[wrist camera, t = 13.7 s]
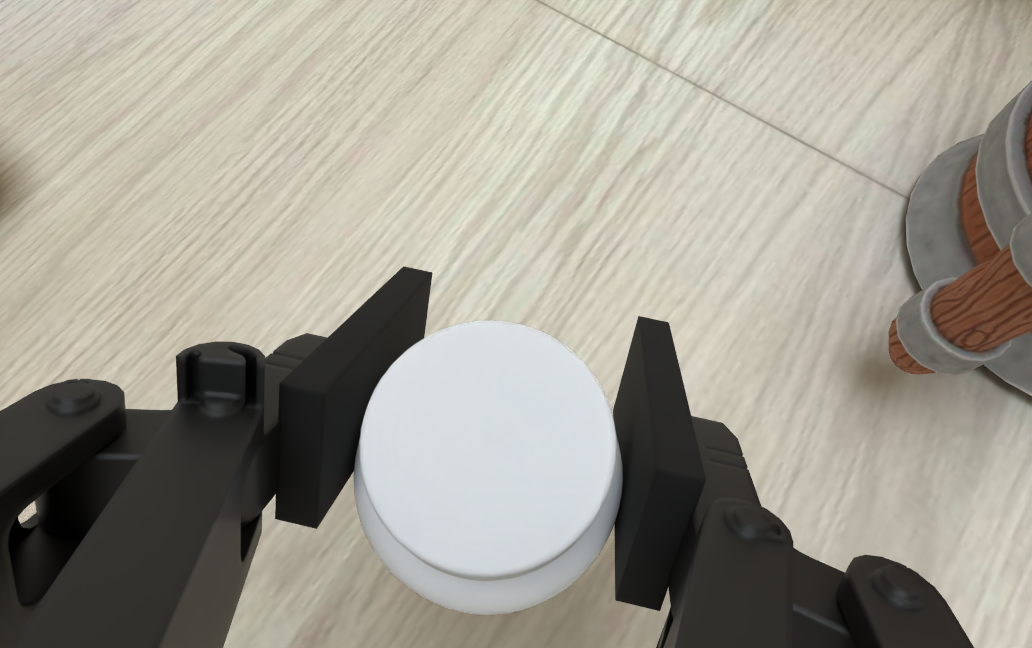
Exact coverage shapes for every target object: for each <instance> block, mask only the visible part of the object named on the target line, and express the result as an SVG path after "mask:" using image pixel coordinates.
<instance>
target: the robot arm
mask: <svg viewBox="0 0 1032 648" xmlns="http://www.w3.org/2000/svg"><path fill="white" fill-rule="evenodd" d="M431 279H432V272H427V271H422V270H418V269H413V268H408V267H402V268H401V269H400V270H399V271H398V272H397V273H396V274H395V275H394V276H393V277H392V278H391V279H390V280H389V281H388V282H387V283H385V284H384V285H383V286H382V287H381V288H380V289H379V290H378V291H377V292H376V293H375V294H374V295H373V296H372V297H371V298H369V299H368V300H367V301H366V302H365V303H364V304H363V305H362V306H361V307H360V308H359V309H358V310H357V311H356V312H355V313H354V314H352V315H351V316H350V317H349V318H348V319H347V320H346V321H345V322H344V323H343V324H342V325H341V326H340V327H339V328H338V329H336V330H335V331H334V332H333V333H332V334H331V335H330V336H329V337H328V338H326V337H322V336H317V335H313V334H308V333H306V334H304V335H301V336H298V337H295V338H292V339H290V340H287V341H285V342H284V343H283V344H282V345H281V346H279V347H278V348H277V349H276V350H275V351H273V354H270V355H269V356H267V357H266V358H265V356H264V355H263V353H262V352H261V351H260V350H259V349H256V348H254V347H252V346H249V345H246V344H241V343H236V342H211V343H204V344H198V345H195V346H193V347H190V348H187V349H185V350H183V351H182V352H181V353H179V354H178V355H177V356H176V367H177V391H178V402H177V404H176V405H175V406H174V408H173V409H172V410H138V409H125V397H124V392H123V391H122V390H121V389H120V388H119V387H118V386H117V385H115V384H112V383H109V382H106V381H100V380H91V379H80V380H78V379H74V380H67V381H64V382H61V383H56V384H52V385H49V386H46V387H44V388H42V389H39V390H37V391H35V392H33V393H31V394H29V395H28V396H26V397H24V398H22V399H21V400H19V401H17V402H15V403H14V404H12V405H10V406H9V407H7V408H5V409H3V410H2V411H0V648H223V646H224V643H225V640H226V637H227V634H228V631H229V628H230V625H231V622H232V619H233V616H234V613H235V610H236V607H237V604H238V601H239V598H240V595H241V592H242V589H243V586H244V583H245V580H246V577H247V574H248V571H249V568H250V565H251V562H252V559H253V556H254V553H255V550H256V547H257V544H258V542H259V539H260V536H261V533H262V510H263V509H264V508H265V507H266V505H267V504H268V503H269V502H270V500H271V499H272V498H273V497H274V495H275V494H276V511H275V519H278V520H282V521H286V522H291V523H295V524H299V525H303V526H307V527H311V528H316V529H317V527H318V526H319V524H320V523H321V521H322V520H323V518H324V517H325V515H326V513H327V512H328V510H329V509H330V507H331V506H332V504H333V503H334V501H335V499H336V498H337V496H338V495H339V493H340V492H341V490H342V489H343V487H344V485H345V484H346V482H347V481H348V479H349V478H350V476H351V474H352V473H353V471H354V467H355V457H356V452H357V447H358V444H359V440H360V436H361V427H362V423H363V419H364V415H365V412H366V409H367V406H368V403H369V401H370V398H371V396H372V394H373V392H374V390H375V388H376V386H377V385H378V383H379V381H380V379H381V378H382V377H383V375H384V374H385V373H386V372H387V370H388V369H389V367H390V366H391V365H392V364H393V363H394V362H395V361H396V360H397V359H398V358H399V357H400V356H401V355H402V354H403V353H404V352H405V351H406V350H407V349H409V348H410V347H412V346H413V345H415V344H416V343H418V342H419V341H421V340H422V339H424V334H425V326H426V319H427V311H428V303H429V295H430V287H431ZM613 419H614V424H615V431H616V436H617V440H618V443H619V448H620V453H621V459H622V471H623V484H622V495H621V501H620V506H619V510H618V514H617V517H616V521H615V600H616V601H620V602H625V603H629V604H633V605H637V606H641V607H645V608H650V609H654V610H658V611H660V609H661V606H662V603H663V601H664V598H665V595H666V592H667V589H668V586H669V595H670V603H671V608H670V611H669V614H668V617H667V619H666V622H665V625H664V628H663V630H662V633H661V636H660V639H659V641H658V644H657V647H656V648H974V647H973V645H972V643H971V642H970V640H969V638H968V637H967V635H966V633H965V632H964V630H963V628H962V627H961V625H960V624H959V622H958V620H957V619H956V617H955V615H954V614H953V612H952V610H951V609H950V607H949V605H948V604H947V602H946V601H945V599H944V598H943V597H942V596H941V595H940V593H939V592H938V591H937V590H936V588H935V587H934V586H933V585H931V584H930V583H929V582H928V581H926V580H925V579H924V578H923V577H921V576H920V575H919V574H918V573H916V572H915V571H913V570H912V569H910V568H907V566H904V565H902V564H900V563H898V562H894V561H892V560H889V559H886V558H883V557H879V556H871V555H863V556H859V557H855V558H854V559H853V560H852V562H851V563H850V565H849V566H848V568H847V570H846V572H845V573H844V572H842V571H840V570H838V569H835V568H833V567H831V566H829V565H826V564H824V563H822V562H819V561H817V560H815V559H813V558H811V557H809V556H807V555H805V554H803V553H801V552H799V551H798V550H796V549H795V548H793V540H792V536H791V533H790V531H789V529H788V528H787V527H786V526H785V524H784V523H783V522H782V521H781V520H780V519H779V518H778V517H776V516H775V515H774V514H772V513H771V512H770V511H769V510H767V509H765V508H763V507H761V504H760V501H759V498H758V496H757V493H756V490H755V487H754V484H753V481H752V479H751V476H750V473H749V470H747V464H746V461H745V459H744V457H742V456H743V453H742V450H741V447H740V444H739V442H738V439H737V438H736V437H735V435H734V434H733V433H732V432H731V431H730V430H729V429H728V428H727V427H726V426H725V425H724V424H723V423H721V422H716V421H711V420H707V419H702V418H698V417H693V416H691V414H690V409H689V405H688V401H687V397H686V393H685V389H684V384H683V380H682V376H681V372H680V368H679V364H678V359H677V355H676V351H675V347H674V343H673V338H672V334H671V330H670V326H669V323H668V322H664V321H659V320H654V319H650V318H645V317H640V316H638V320H637V324H636V327H635V331H634V335H633V338H632V342H631V346H630V350H629V353H628V357H627V361H626V364H625V368H624V372H623V376H622V379H621V383H620V387H619V390H618V394H617V398H616V402H615V405H614V409H613ZM33 501H35V504H36V510H37V513H36V514H34V515H33V516H32V517H31V518H29V519H28V520H27V521H25V522H23V523H21V524H20V522H19V521H18V516H19V514H20V513H21V512H22V511H23V510H24V509H25V508H26V507H27V506H28V505H29V504H31V503H32V502H33Z"/></svg>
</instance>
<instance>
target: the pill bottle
mask: <svg viewBox="0 0 1032 648" xmlns="http://www.w3.org/2000/svg"><path fill="white" fill-rule="evenodd" d="M622 484H623V471H622V459H621V453H620V448H619V443H618V440H617V436H616V431H615V424H614V419H613V415H612V411H611V408H610V405H609V402H608V400H607V397H606V395H605V393H604V391H603V389H602V387H601V384H600V383H599V382H598V380H597V379H596V377H595V376H594V374H593V372H592V371H591V370H590V369H589V367H588V366H587V365H586V364H585V363H584V362H583V361H582V360H581V359H580V358H579V357H578V355H577V354H576V353H575V352H573V351H572V350H571V349H570V348H568V347H567V346H566V345H564V344H563V343H561V342H560V341H559V340H557V339H555V338H553V337H552V336H550V335H548V334H546V333H544V332H542V331H540V330H537V329H534V328H532V327H529V326H525V325H521V324H518V323H512V322H506V321H496V320H494V321H490V320H482V321H473V322H467V323H461V324H457V325H454V326H450V327H447V328H445V329H442V330H439V331H437V332H435V333H433V334H431V335H429V336H427V337H425V338H424V339H422V340H421V341H419V342H418V343H416V344H415V345H413V346H412V347H410V348H409V349H407V350H406V351H405V352H404V353H403V354H402V355H401V356H400V357H399V358H398V359H397V360H396V361H395V362H394V363H393V364H392V365H391V366H390V367H389V369H388V370H387V372H386V373H385V374H384V375H383V377H382V378H381V379H380V381H379V383H378V385H377V386H376V388H375V390H374V392H373V394H372V396H371V398H370V401H369V403H368V406H367V409H366V412H365V415H364V419H363V423H362V427H361V436H360V440H359V444H358V447H357V452H356V457H355V467H354V492H355V499H356V506H357V510H358V514H359V518H360V521H361V524H362V527H363V529H364V532H365V534H366V537H367V539H368V540H369V542H370V544H371V546H372V548H373V550H374V551H375V553H376V554H377V556H378V557H379V558H380V560H381V561H382V563H383V564H384V565H385V566H386V567H387V569H388V570H389V571H390V572H391V573H392V574H393V575H394V576H395V577H396V578H398V579H399V580H400V581H401V582H402V583H403V584H405V585H406V586H407V587H409V588H410V589H411V590H413V591H414V592H415V593H416V594H418V595H420V596H422V597H423V598H425V599H426V600H428V601H431V602H433V603H435V604H437V605H440V606H442V607H445V608H448V609H451V610H455V611H459V612H463V613H468V614H475V615H500V614H507V613H515V612H518V611H521V610H525V609H528V608H530V607H533V606H536V605H538V604H540V603H542V602H544V601H547V600H549V599H551V598H552V597H554V596H556V595H557V594H559V593H560V592H562V591H563V590H565V589H566V588H568V587H569V586H570V585H571V584H572V583H574V582H575V581H576V580H577V579H578V578H579V577H580V576H581V575H582V574H583V573H584V572H585V571H586V570H587V569H588V568H589V566H590V565H591V564H592V563H593V562H594V560H595V559H596V557H597V556H598V555H599V553H600V552H601V550H602V548H603V547H604V545H605V543H606V541H607V539H608V537H609V535H610V533H611V531H612V529H613V526H614V523H615V521H616V517H617V514H618V510H619V506H620V501H621V495H622Z"/></svg>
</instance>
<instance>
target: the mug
mask: <svg viewBox="0 0 1032 648" xmlns="http://www.w3.org/2000/svg"><path fill="white" fill-rule="evenodd" d="M906 239H907V248H908V252H909V256H910V259H911V263H912V267H913V271H914V274H915V276H916V278H917V280H918V282H919V285H920V287H921V289H922V291H920V292H919V293H917V294H916V295H914V296H912V297H911V298H910V299H909V300H908V301H906V302H905V303H904V304H903V305H902V306H901V307H900V310H899V312H898V315H897V317H896V318H895V319H894V320H893V321H892V324H891V326H890V329H889V353H890V357H891V359H892V361H893V362H894V363H895V365H896V366H897V367H899V368H900V369H902V370H903V371H905V372H908V373H911V374H928V373H935V372H937V373H942V374H951V375H958V374H961V373H964V372H968V371H971V370H973V369H975V368H977V367H979V366H981V365H984V366H986V367H987V368H988V369H990V370H991V371H992V372H994V373H995V374H996V375H998V376H999V377H1000V378H1001V379H1003V380H1004V381H1005V382H1007V383H1009V384H1011V385H1012V386H1014V387H1016V388H1018V389H1020V390H1021V391H1023V392H1025V393H1027V394H1029V395H1030V396H1032V81H1031V82H1030V83H1029V84H1028V85H1027V86H1026V87H1025V88H1024V89H1023V90H1022V91H1021V92H1020V93H1018V94H1017V95H1016V96H1015V97H1014V98H1013V99H1012V100H1011V101H1010V102H1009V103H1008V104H1007V105H1006V106H1005V107H1004V108H1003V109H1002V110H1001V112H1000V113H999V114H998V115H997V116H996V117H995V118H994V119H993V120H992V121H991V122H990V124H989V126H988V128H987V130H986V132H985V134H982V135H979V136H976V137H974V138H971V139H968V140H965V141H962V142H960V143H957V144H956V145H954V146H953V147H951V148H950V149H948V150H946V151H945V152H943V153H942V154H940V155H939V156H937V157H936V159H935V160H934V161H933V162H932V163H931V164H930V165H929V166H928V167H927V168H926V169H925V170H924V171H923V172H922V174H921V176H920V178H919V180H918V182H917V183H916V185H915V187H914V189H913V191H912V193H911V197H910V201H909V206H908V210H907V215H906Z"/></svg>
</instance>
